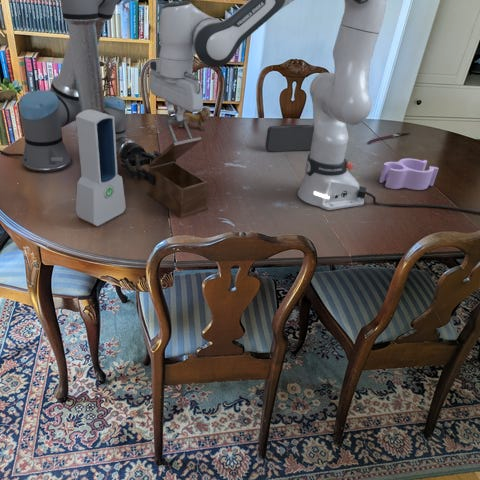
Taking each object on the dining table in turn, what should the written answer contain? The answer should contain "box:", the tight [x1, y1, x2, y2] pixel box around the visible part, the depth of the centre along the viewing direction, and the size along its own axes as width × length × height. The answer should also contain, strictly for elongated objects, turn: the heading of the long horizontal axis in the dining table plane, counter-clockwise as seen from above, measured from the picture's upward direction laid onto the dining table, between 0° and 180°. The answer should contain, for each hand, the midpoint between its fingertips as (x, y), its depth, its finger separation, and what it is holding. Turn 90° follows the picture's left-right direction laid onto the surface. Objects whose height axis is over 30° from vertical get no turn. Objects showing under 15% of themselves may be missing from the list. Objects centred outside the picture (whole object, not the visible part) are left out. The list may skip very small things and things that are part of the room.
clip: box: [378, 157, 439, 191], centre depth 172 cm, size 20×12×7 cm, turn 109°
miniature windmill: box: [99, 52, 117, 98], centre depth 184 cm, size 9×8×30 cm
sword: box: [367, 132, 410, 144], centre depth 214 cm, size 31×3×1 cm, turn 126°
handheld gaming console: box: [264, 124, 314, 152], centre depth 189 cm, size 23×3×10 cm, turn 108°
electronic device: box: [75, 110, 127, 227], centre depth 126 cm, size 12×8×30 cm, turn 148°
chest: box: [147, 161, 209, 218], centre depth 143 cm, size 18×10×9 cm, turn 42°
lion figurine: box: [176, 106, 211, 131], centre depth 199 cm, size 15×5×9 cm, turn 110°
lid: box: [147, 115, 203, 168], centre depth 139 cm, size 18×10×9 cm
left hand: (168, 177), depth 146 cm, fingers closed on chest, 10 cm apart
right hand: (175, 118), depth 133 cm, fingers closed
